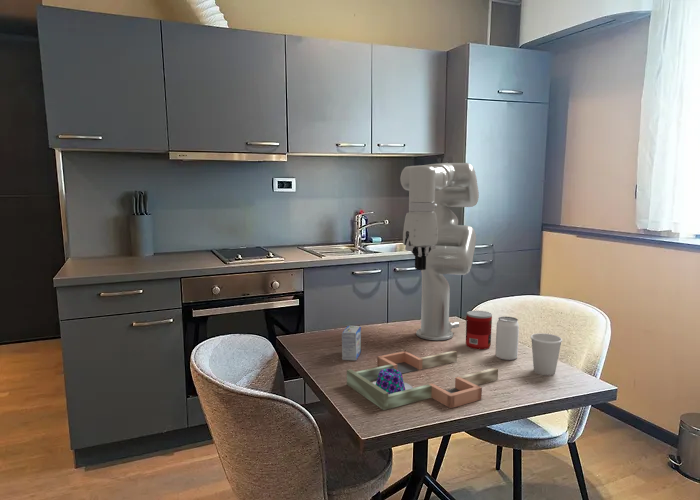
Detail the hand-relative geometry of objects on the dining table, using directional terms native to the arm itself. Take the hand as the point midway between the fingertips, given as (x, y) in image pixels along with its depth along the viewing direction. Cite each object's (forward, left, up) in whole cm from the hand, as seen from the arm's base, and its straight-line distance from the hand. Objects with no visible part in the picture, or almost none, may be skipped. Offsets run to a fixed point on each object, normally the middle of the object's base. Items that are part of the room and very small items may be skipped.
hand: (420, 269), depth 151 cm
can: (-23, +14, -27) cm, 38 cm away
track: (+11, +17, -27) cm, 34 cm away
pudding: (+22, +17, -28) cm, 39 cm away
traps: (+11, +17, -27) cm, 34 cm away
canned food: (-23, +2, -27) cm, 36 cm away
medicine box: (+18, -10, -27) cm, 34 cm away
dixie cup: (-23, +28, -27) cm, 45 cm away
